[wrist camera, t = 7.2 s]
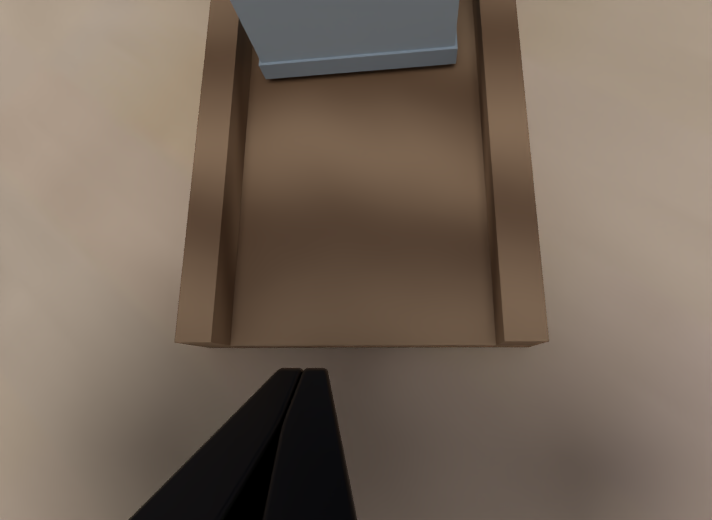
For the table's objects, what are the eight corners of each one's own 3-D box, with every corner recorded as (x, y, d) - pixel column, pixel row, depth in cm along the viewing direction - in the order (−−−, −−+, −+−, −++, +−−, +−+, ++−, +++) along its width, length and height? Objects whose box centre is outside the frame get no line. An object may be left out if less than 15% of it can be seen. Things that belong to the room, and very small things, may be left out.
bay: (528, 347, 15) (578, 332, 10) (209, 347, 17) (125, 334, 12) (490, -98, 20) (512, -248, 15) (245, -67, 22) (195, -194, 17)
